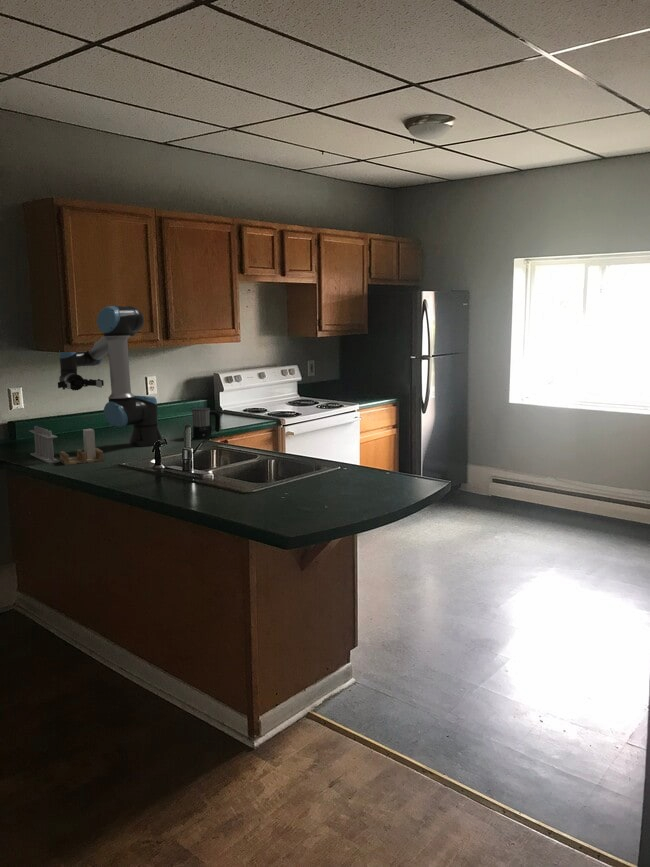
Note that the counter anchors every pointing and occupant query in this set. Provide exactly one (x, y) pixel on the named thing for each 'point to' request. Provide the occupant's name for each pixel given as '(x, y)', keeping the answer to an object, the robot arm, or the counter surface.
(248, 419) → the counter surface
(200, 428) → the milk frother
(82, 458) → the oak rack
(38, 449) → the test tube rack
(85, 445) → the grey upright block
